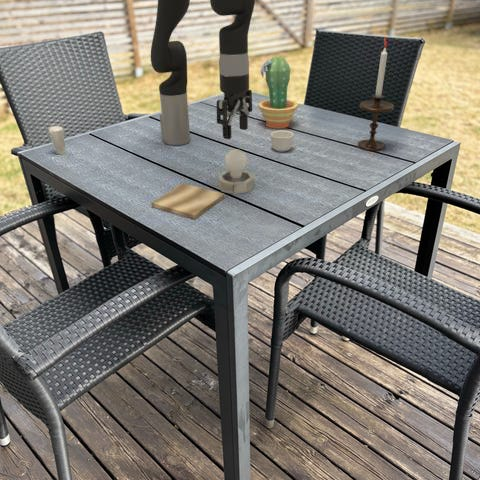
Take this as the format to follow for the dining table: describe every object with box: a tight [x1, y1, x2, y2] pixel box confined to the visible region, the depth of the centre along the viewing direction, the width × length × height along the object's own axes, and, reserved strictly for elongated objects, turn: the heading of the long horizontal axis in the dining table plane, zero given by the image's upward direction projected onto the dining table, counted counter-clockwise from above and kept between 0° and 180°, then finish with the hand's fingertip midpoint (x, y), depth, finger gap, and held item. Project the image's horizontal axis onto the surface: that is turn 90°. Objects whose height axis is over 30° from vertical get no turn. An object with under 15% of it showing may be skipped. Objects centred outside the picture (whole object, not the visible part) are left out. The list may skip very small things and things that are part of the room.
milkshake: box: [48, 121, 67, 155], centre depth 156 cm, size 4×5×10 cm
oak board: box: [151, 183, 225, 220], centre depth 125 cm, size 14×14×1 cm
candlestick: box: [357, 37, 395, 152], centre depth 150 cm, size 11×11×35 cm
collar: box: [217, 169, 256, 195], centre depth 133 cm, size 10×10×3 cm
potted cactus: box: [257, 55, 299, 129], centre depth 175 cm, size 15×15×25 cm
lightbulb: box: [224, 148, 248, 183], centre depth 131 cm, size 6×6×11 cm
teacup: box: [270, 129, 295, 153], centre depth 158 cm, size 10×8×5 cm
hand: (235, 133), depth 126 cm, fingers open, 8 cm apart
